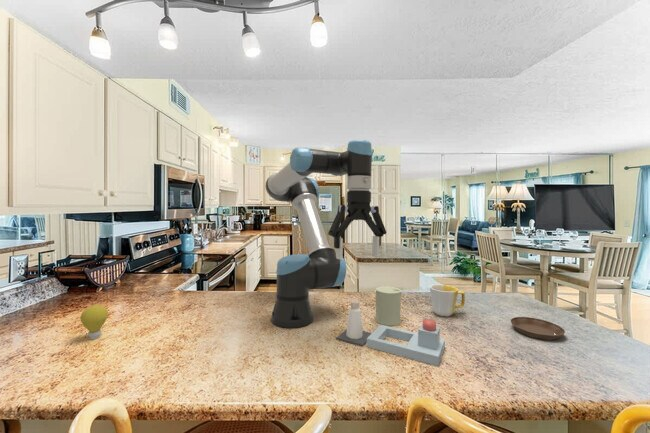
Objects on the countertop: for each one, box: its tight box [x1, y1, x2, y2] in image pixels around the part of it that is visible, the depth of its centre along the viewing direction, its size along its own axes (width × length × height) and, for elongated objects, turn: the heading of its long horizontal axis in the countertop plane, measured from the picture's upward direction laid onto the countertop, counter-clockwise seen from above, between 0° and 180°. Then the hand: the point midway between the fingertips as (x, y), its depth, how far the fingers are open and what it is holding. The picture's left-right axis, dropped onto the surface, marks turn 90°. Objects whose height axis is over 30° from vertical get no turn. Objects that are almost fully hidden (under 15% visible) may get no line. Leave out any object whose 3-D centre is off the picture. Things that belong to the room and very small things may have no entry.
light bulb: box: [79, 304, 109, 340], centre depth 89 cm, size 7×7×10 cm
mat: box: [335, 328, 373, 347], centre depth 91 cm, size 9×9×1 cm
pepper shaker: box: [346, 299, 363, 339], centre depth 91 cm, size 5×5×11 cm
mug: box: [429, 283, 466, 317], centre depth 113 cm, size 14×10×10 cm
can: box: [374, 285, 402, 327], centre depth 105 cm, size 9×9×12 cm
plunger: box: [422, 318, 437, 331], centre depth 82 cm, size 4×4×2 cm
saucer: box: [510, 316, 566, 341], centre depth 97 cm, size 15×15×3 cm
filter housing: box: [366, 323, 446, 367], centre depth 85 cm, size 20×12×7 cm, turn 60°
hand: (358, 257), depth 91 cm, fingers open, 13 cm apart
